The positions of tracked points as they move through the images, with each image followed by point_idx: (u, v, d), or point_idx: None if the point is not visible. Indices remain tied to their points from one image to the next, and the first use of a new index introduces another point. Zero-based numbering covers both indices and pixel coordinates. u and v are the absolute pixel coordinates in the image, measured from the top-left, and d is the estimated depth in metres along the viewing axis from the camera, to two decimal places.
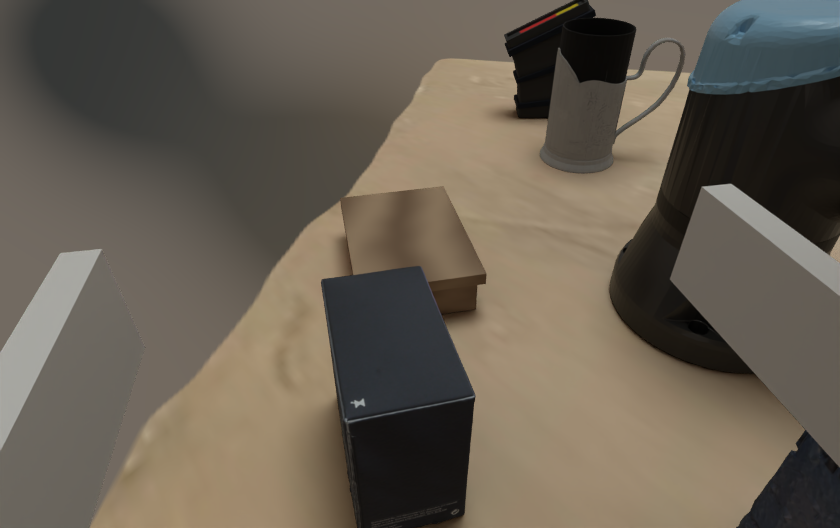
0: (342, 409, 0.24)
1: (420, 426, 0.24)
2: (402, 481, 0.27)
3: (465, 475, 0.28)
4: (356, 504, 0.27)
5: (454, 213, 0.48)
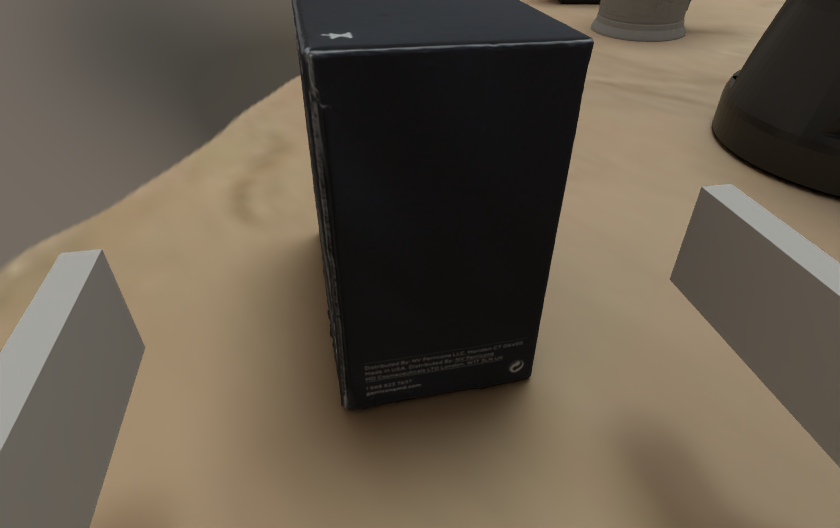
0: (302, 44, 0.11)
1: (471, 109, 0.11)
2: (426, 268, 0.13)
3: (545, 278, 0.15)
4: (336, 320, 0.14)
5: None
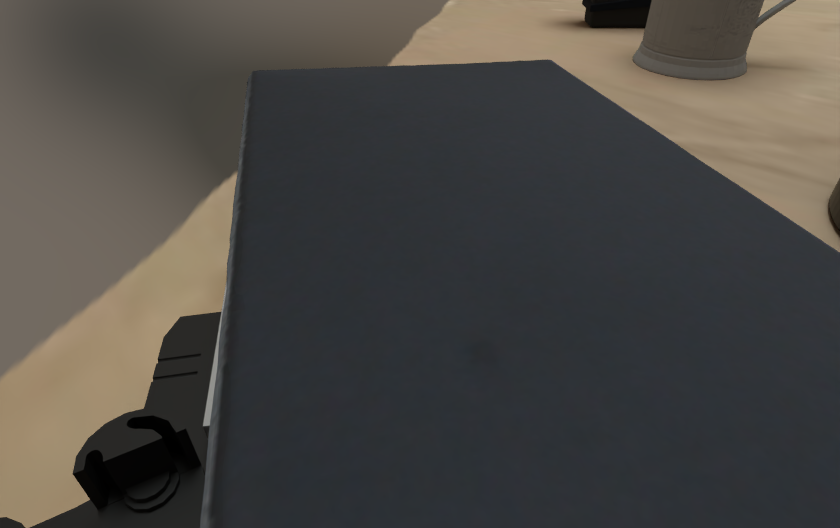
0: None
1: None
2: None
3: None
4: None
5: None
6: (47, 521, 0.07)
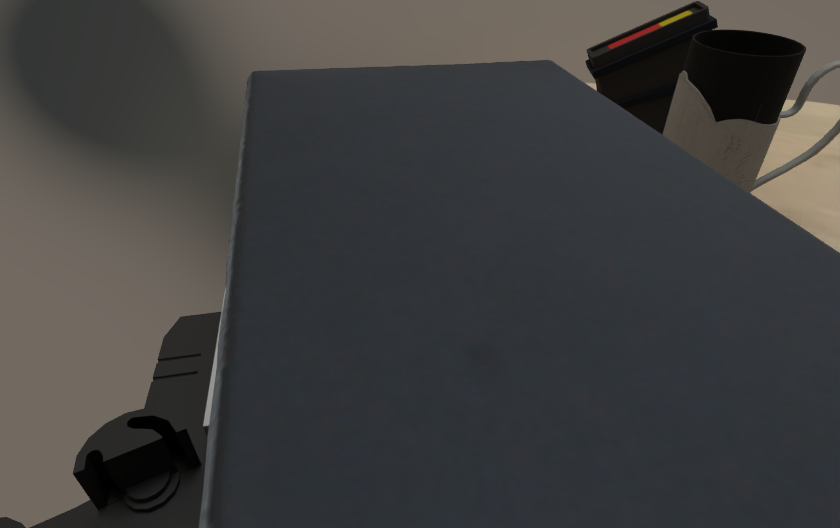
0: None
1: None
2: None
3: None
4: None
5: None
6: (47, 520, 0.07)
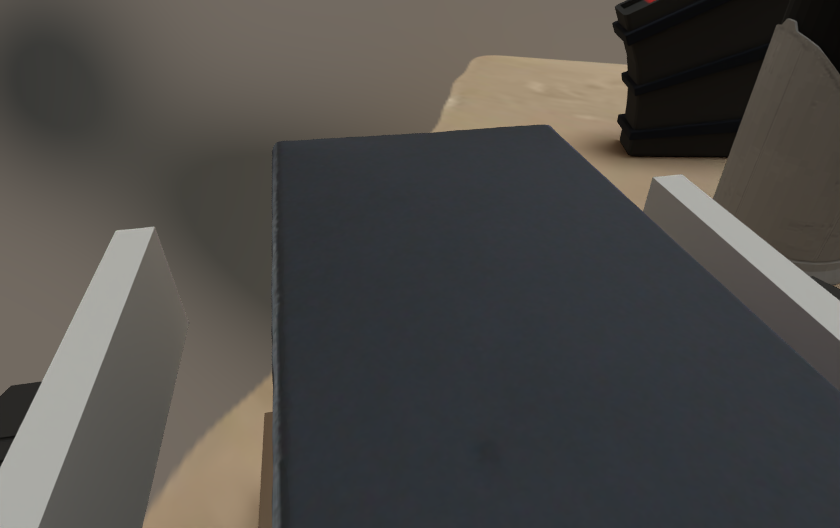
0: None
1: None
2: None
3: None
4: None
5: None
6: None
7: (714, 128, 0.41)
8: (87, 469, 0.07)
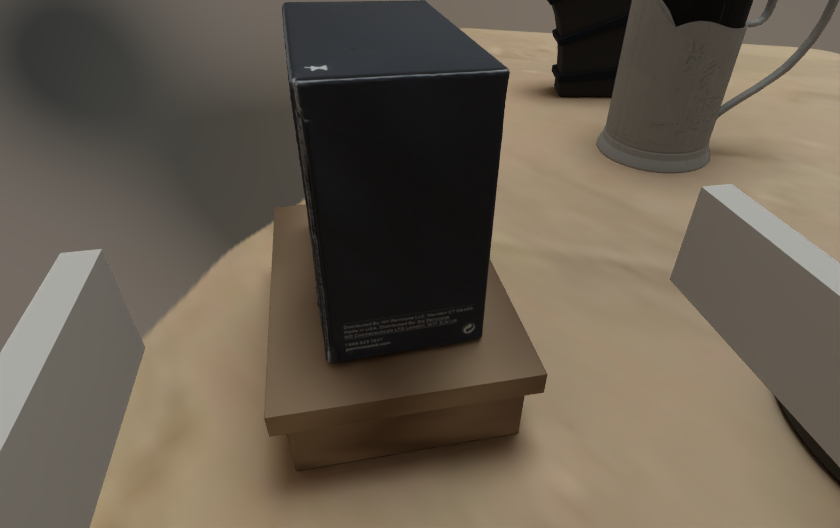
0: (289, 75, 0.14)
1: (418, 121, 0.15)
2: (389, 245, 0.17)
3: (486, 254, 0.18)
4: (319, 287, 0.18)
5: None
6: None
7: None
8: None
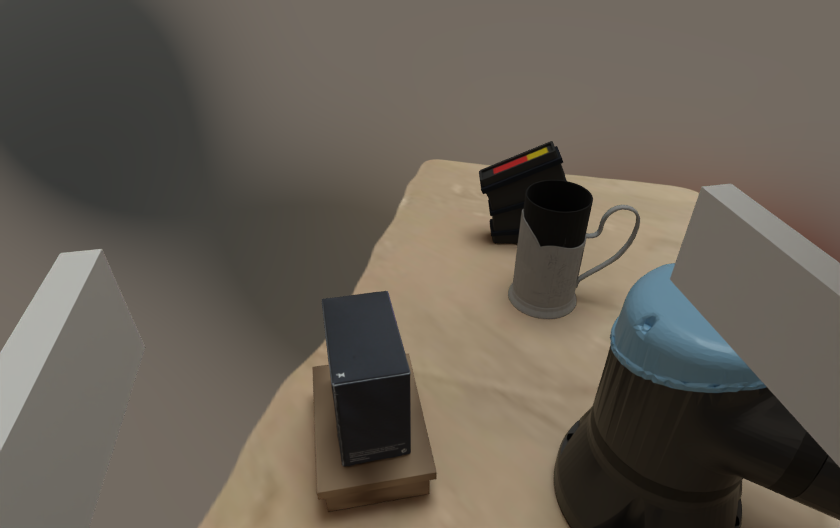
0: (331, 378, 0.40)
1: (377, 390, 0.41)
2: (368, 426, 0.43)
3: (408, 425, 0.44)
4: (340, 440, 0.44)
5: (415, 390, 0.53)
6: None
7: None
8: None
